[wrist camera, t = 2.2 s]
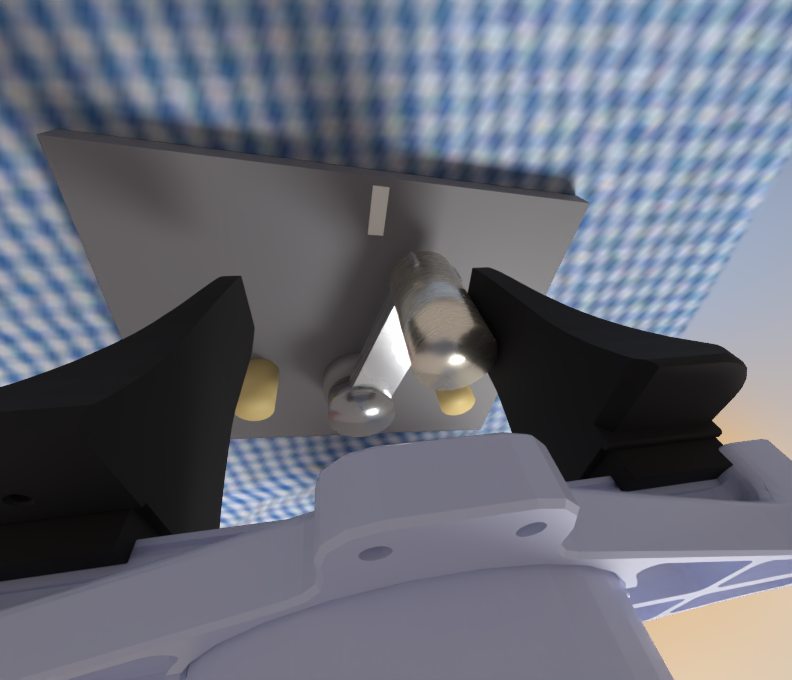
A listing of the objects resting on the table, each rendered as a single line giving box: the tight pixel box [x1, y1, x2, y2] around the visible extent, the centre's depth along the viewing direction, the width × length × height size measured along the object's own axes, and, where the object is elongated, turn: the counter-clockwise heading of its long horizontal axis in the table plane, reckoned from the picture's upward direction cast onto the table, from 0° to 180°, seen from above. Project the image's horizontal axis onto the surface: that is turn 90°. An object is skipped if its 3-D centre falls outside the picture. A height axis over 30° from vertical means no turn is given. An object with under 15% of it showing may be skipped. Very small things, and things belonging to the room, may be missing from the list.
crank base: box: [37, 129, 590, 439], centre depth 16 cm, size 15×19×3 cm
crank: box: [328, 251, 498, 437], centre depth 14 cm, size 10×3×5 cm, turn 156°
